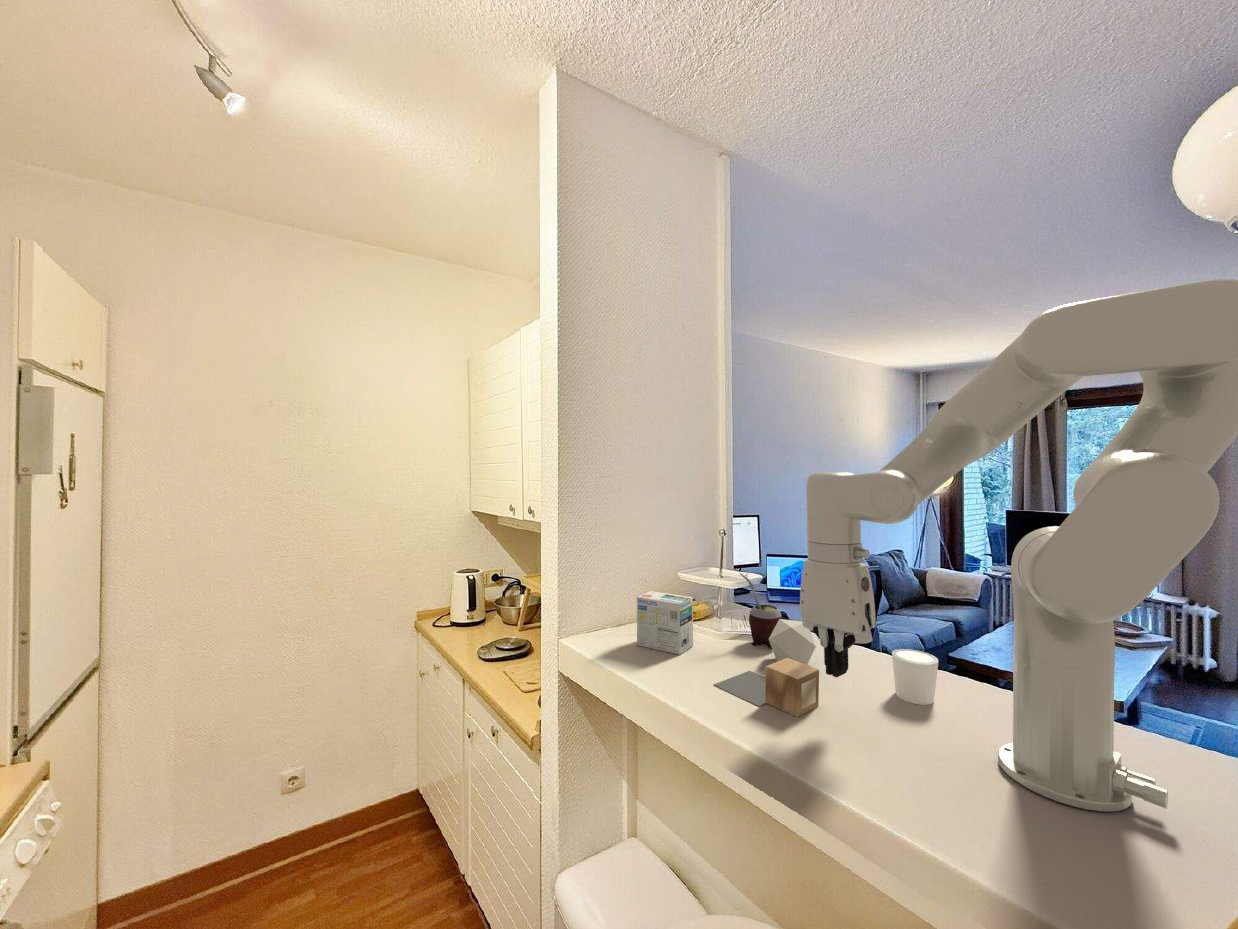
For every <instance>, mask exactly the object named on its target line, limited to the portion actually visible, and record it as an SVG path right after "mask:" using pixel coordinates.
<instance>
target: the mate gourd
mask: <svg viewBox="0 0 1238 929" xmlns="http://www.w3.org/2000/svg"><path fill="white" fill-rule="evenodd" d="M739 575H740V576H741V577H742V578H744V580H745V581H747V582H748V584H749V587H750V589H751V591H752V594H753V597H754V600H755V603H756V605H753V607H752V608H751V609H750V611H749V615H748V624H749V628H750V633H751V637H752V642H751V645H752V646H753V647H756V646H766V647H767V648H769V649H770V650H772V647H771V644H770V642H769V637H770V636H771V634H772V632H773V630H774V628H775V626H776V624H777V622H778V621H779V619H783V616H782V612H781V611H780V609H779V608H778V607H777V606H775V605H772V604H765V603H764V604H763V603H762V604H760V601H759V599H758V596H757V593H756V590H755V585H754V583H753V582H752V581H751V579H749V578H748V577H746V576H745V575H744V574H743V573H741V572H739Z"/></svg>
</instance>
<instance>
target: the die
mask: <svg viewBox="0 0 1238 929" xmlns="http://www.w3.org/2000/svg"><path fill="white" fill-rule="evenodd" d="M802 622H803V621H800V620H799V621H798V620H792V619H791V620H790V619H785V618H784V619H783V618H782V619H779V621H778V622H777V624H776V626H775V628H774V630H773V632H772V634H771V636H770V637H769V642H770V644H771V647H772V649H771V651H772V652H773V654H774V658H775V660H776V661H775V662H778V661H781V660H783V659H786V658H790V659H792V660H795V661H798V662H800V663H803V664H806V665H808V664H809V662H810V660H811V659H812V656H813V654H814V652H815V649H816V647H817V646H816V644H815V639H814V638H813V635H812V631H811V630H809V629H808V628H806V627H804V626H803V624H802ZM808 666H809V665H808Z"/></svg>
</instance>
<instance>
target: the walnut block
mask: <svg viewBox="0 0 1238 929" xmlns="http://www.w3.org/2000/svg"><path fill="white" fill-rule="evenodd" d="M765 677H766V695H765V702H766V703H767V704H768V705H770V706H771V707H775V708H777V709H779V710H781V711H783V712H785V713H787V714H789V715H791V716H794V717H796V718H798V717H801V716H802V715H804V714H806V713H807V712H810V711H812V710H814V709H815V708H818V707H819V702H820V701H819V699H820V697H819V696H820V694H819V692H820V691H819V690H820V669H818V668H816V667H813V666H811V665H806V664H803V663H800V662H798V661H795V660H792V659H790V658H786V659H783V660H781V661H778V662H777V661H775V662H773V663H770V664H768V665H766V666H765Z"/></svg>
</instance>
